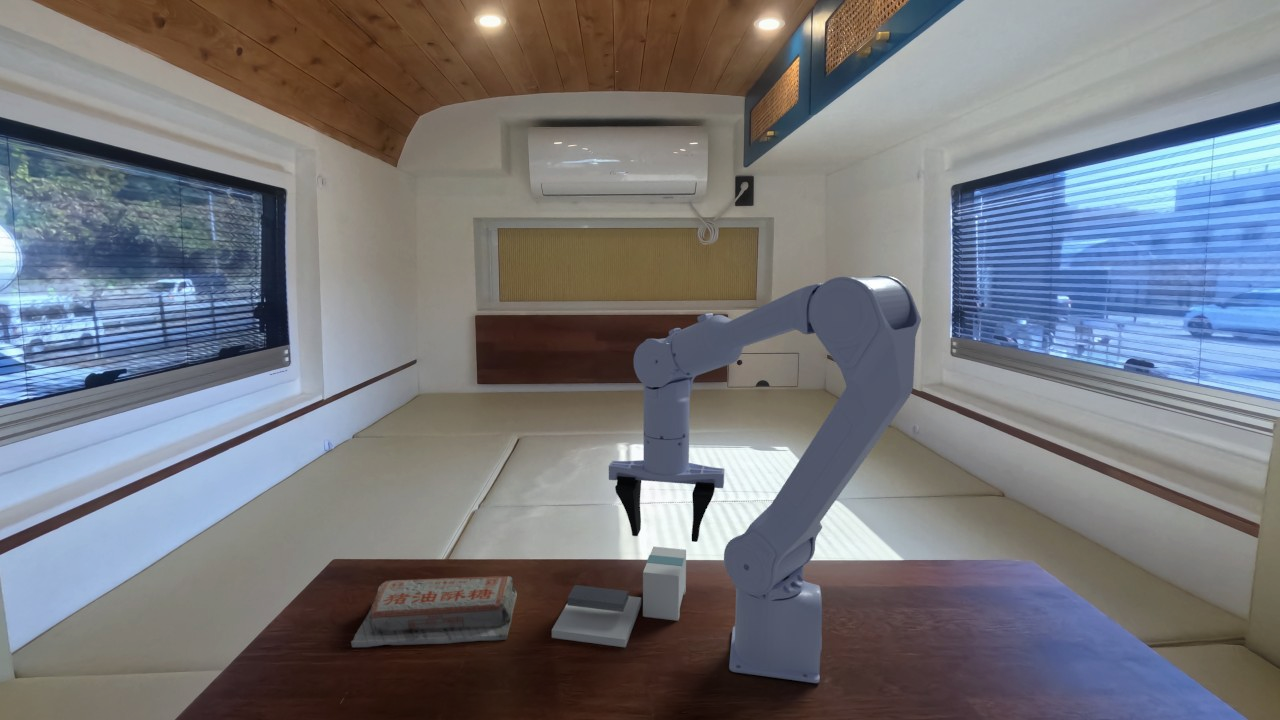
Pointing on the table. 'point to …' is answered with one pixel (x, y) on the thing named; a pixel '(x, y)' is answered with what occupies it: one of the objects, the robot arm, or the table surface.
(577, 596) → the dark grey flat block
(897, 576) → the table surface
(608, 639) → the base
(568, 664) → the table surface
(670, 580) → the block
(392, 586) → the packaged product
